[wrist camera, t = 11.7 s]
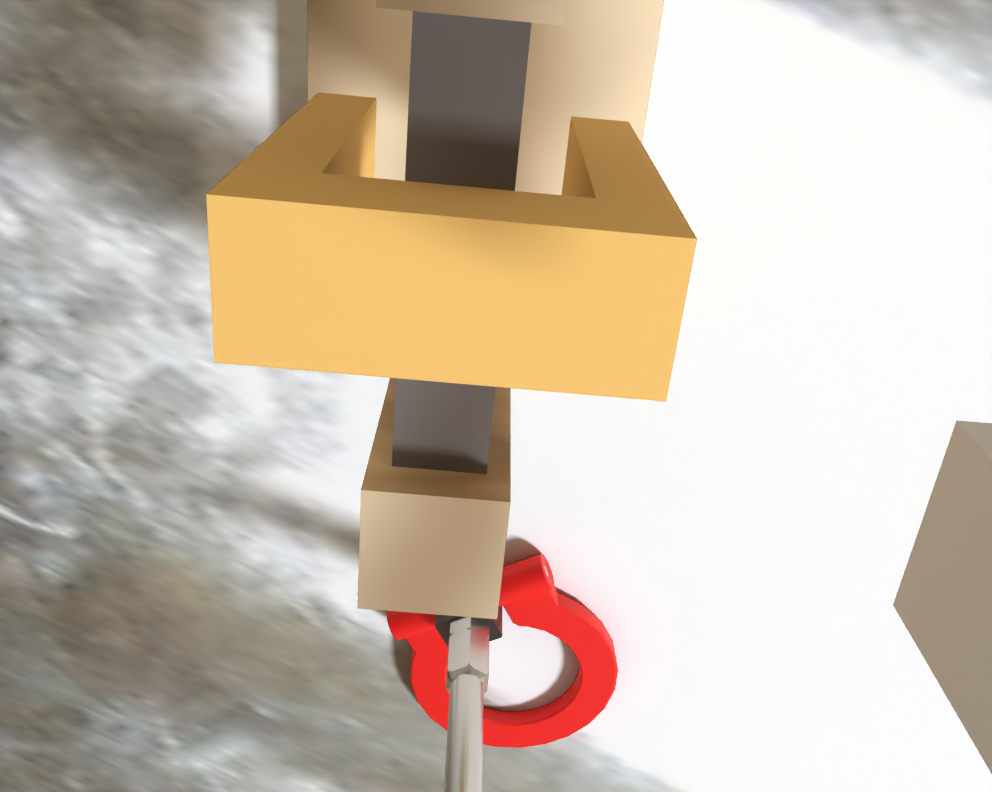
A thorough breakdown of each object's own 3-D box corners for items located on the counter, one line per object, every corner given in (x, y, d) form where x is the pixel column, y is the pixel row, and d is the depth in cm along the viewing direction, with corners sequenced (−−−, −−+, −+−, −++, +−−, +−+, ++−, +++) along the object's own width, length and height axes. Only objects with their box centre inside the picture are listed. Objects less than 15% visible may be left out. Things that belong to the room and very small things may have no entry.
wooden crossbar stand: (314, 336, 33) (193, 595, 20) (315, -167, 26) (137, -242, 14) (602, 361, 33) (658, 631, 21) (677, -129, 26) (829, -171, 14)
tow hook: (642, 693, 41) (561, 534, 36) (699, 1013, 29) (590, 836, 25) (464, 748, 42) (366, 602, 38) (452, 1070, 31) (313, 914, 27)
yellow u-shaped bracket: (317, 207, 26) (214, 362, 17) (317, 92, 24) (206, 194, 15) (611, 234, 26) (665, 401, 17) (629, 121, 25) (696, 239, 16)
